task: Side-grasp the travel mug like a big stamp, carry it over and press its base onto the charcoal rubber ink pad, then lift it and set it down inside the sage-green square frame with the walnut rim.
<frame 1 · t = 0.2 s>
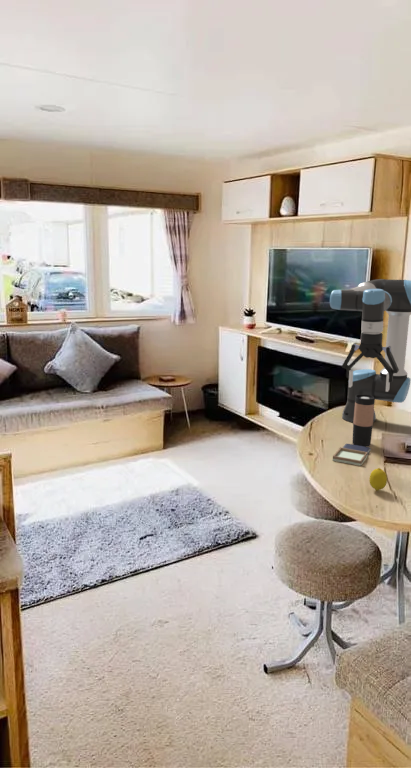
hand: (368, 388, 208), 27 cm above the table, tool pointing down, fingers open, 13 cm apart
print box: (350, 458, 212), on the table
lemon: (377, 491, 184), on the table
travel mug: (361, 444, 228), on the table
ink pad: (355, 451, 220), on the table
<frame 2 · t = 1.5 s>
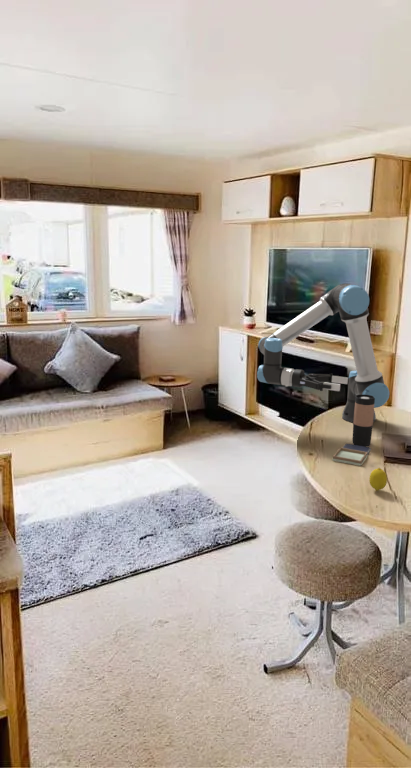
hand: (343, 384, 226), 24 cm above the table, tool horizontal, fingers open, 13 cm apart
nothing on the table moved.
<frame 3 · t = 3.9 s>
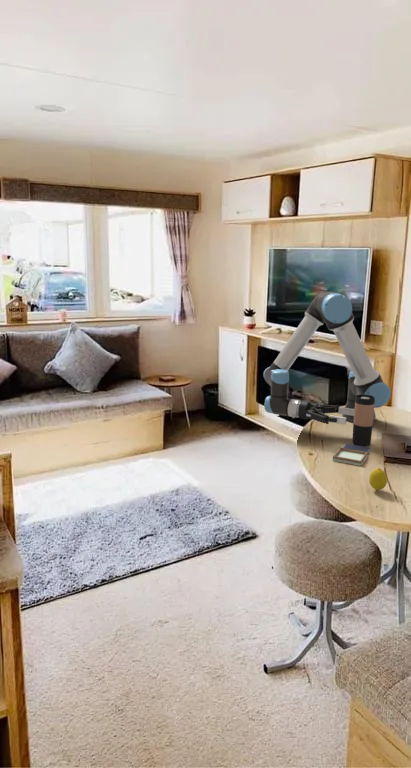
hand: (350, 416, 227), 11 cm above the table, tool horizontal, fingers open, 13 cm apart
nothing on the table moved.
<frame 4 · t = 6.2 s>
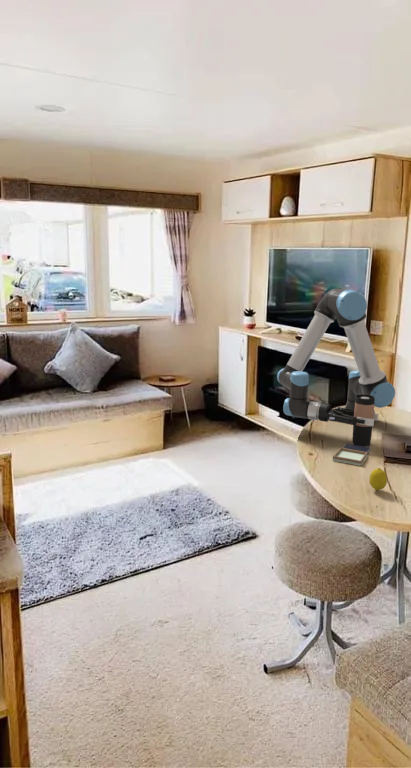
hand: (375, 420, 223), 11 cm above the table, tool horizontal, fingers closed on travel mug, 7 cm apart
travel mug: (361, 444, 228), on the table, touching gripper
everything else where it was.
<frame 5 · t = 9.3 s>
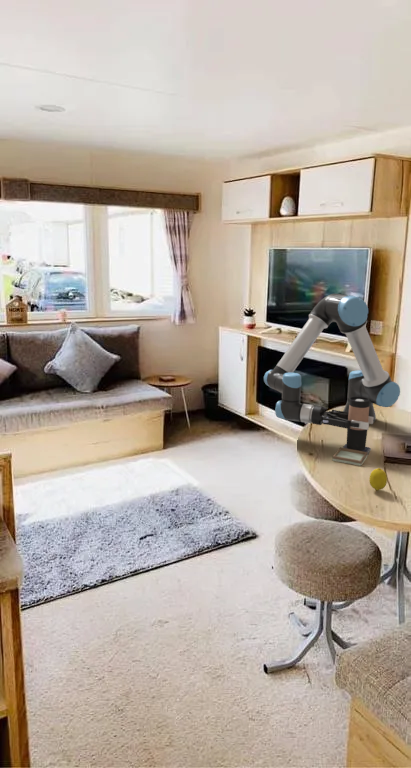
hand: (370, 423, 215), 12 cm above the table, tool horizontal, fingers closed on travel mug, 7 cm apart
travel mug: (355, 448, 220), point 1 cm above the table, touching gripper, ink pad
everything else where it was.
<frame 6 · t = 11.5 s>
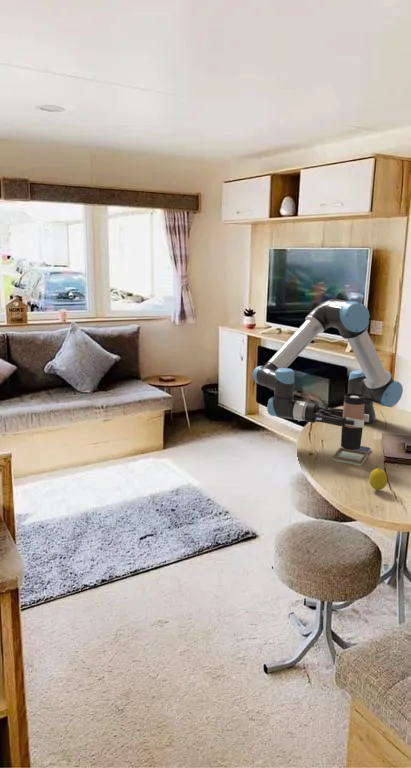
hand: (366, 421, 206), 16 cm above the table, tool horizontal, fingers closed on travel mug, 7 cm apart
travel mug: (350, 447, 211), point 5 cm above the table, touching gripper
everything else where it was.
when the fingers open (13 cm above the table, at t = 12.4 s): travel mug drops 1 cm, resting on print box.
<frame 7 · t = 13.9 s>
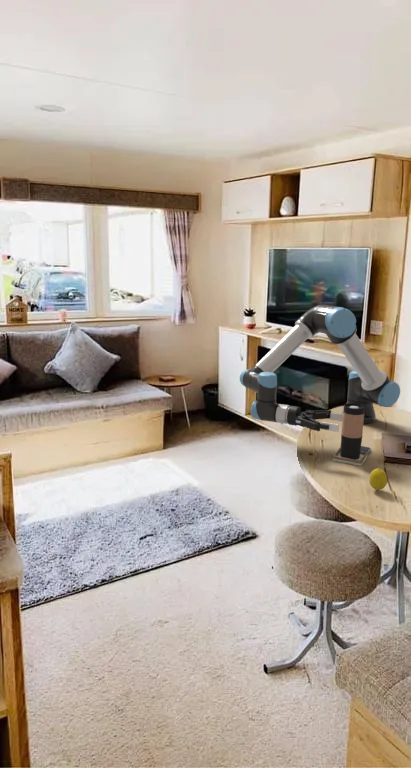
hand: (343, 423, 210), 14 cm above the table, tool horizontal, fingers open, 13 cm apart
travel mug: (349, 456, 212), point 1 cm above the table, touching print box
everything else where it was.
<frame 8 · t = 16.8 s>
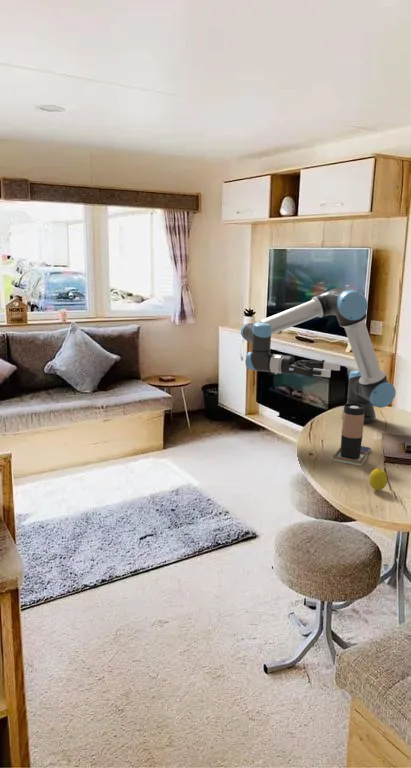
hand: (335, 370, 214), 32 cm above the table, tool horizontal, fingers open, 13 cm apart
nothing on the table moved.
at the end: travel mug 0.1 cm from the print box (horizontally); travel mug tilted 1°; the gripper is holding nothing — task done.
